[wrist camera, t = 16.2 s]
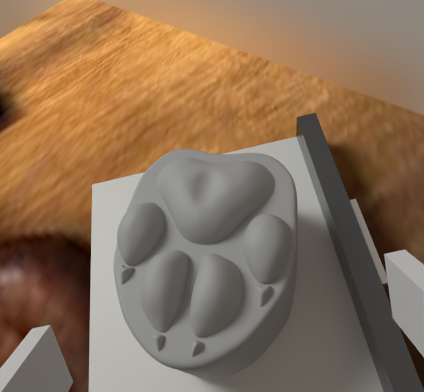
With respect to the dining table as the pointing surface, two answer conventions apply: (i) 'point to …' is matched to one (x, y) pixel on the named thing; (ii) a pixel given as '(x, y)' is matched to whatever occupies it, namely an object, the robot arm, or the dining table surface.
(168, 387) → the shelf board
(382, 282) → the rail
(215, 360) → the lumpy-topped squat cylinder
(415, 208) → the dining table surface
